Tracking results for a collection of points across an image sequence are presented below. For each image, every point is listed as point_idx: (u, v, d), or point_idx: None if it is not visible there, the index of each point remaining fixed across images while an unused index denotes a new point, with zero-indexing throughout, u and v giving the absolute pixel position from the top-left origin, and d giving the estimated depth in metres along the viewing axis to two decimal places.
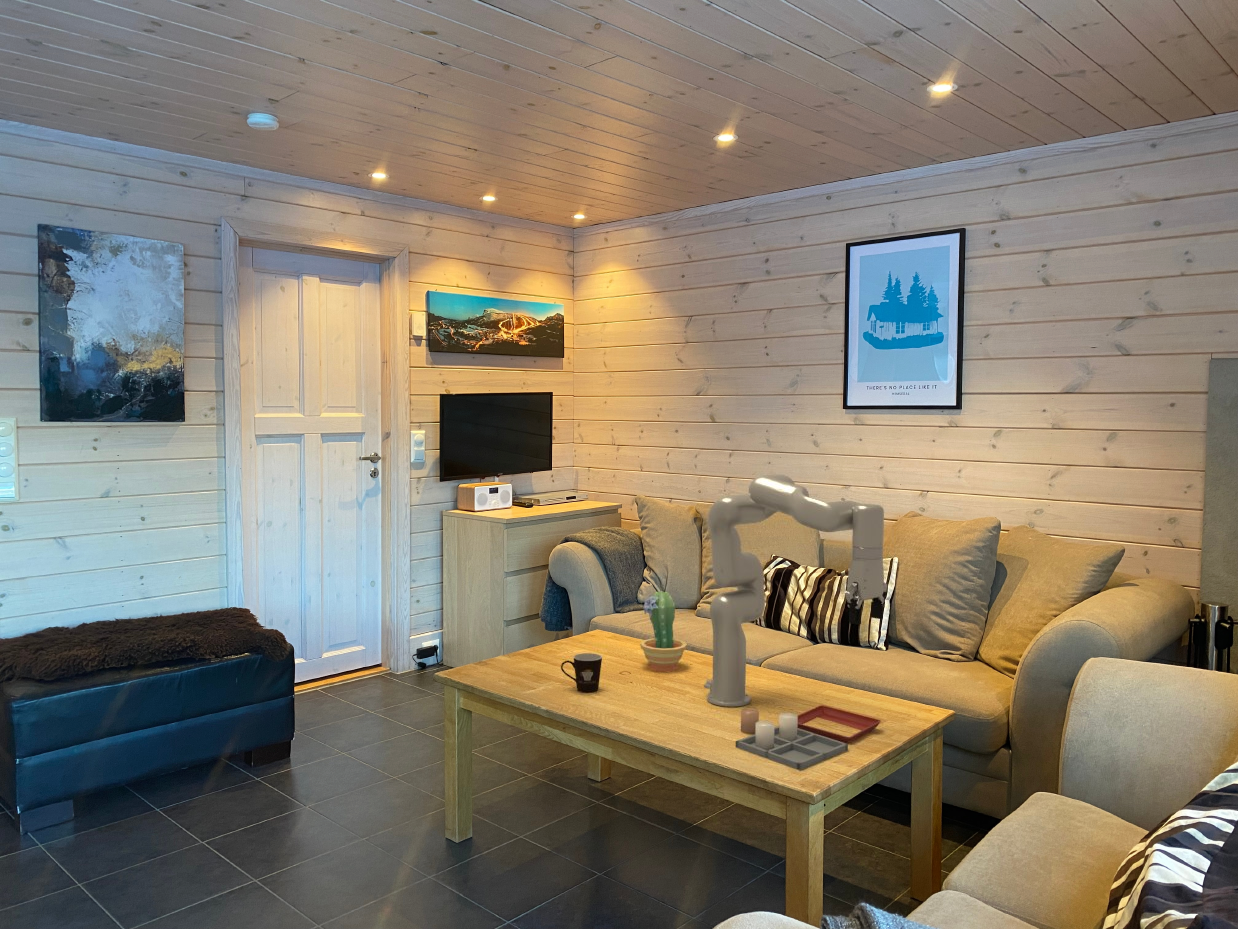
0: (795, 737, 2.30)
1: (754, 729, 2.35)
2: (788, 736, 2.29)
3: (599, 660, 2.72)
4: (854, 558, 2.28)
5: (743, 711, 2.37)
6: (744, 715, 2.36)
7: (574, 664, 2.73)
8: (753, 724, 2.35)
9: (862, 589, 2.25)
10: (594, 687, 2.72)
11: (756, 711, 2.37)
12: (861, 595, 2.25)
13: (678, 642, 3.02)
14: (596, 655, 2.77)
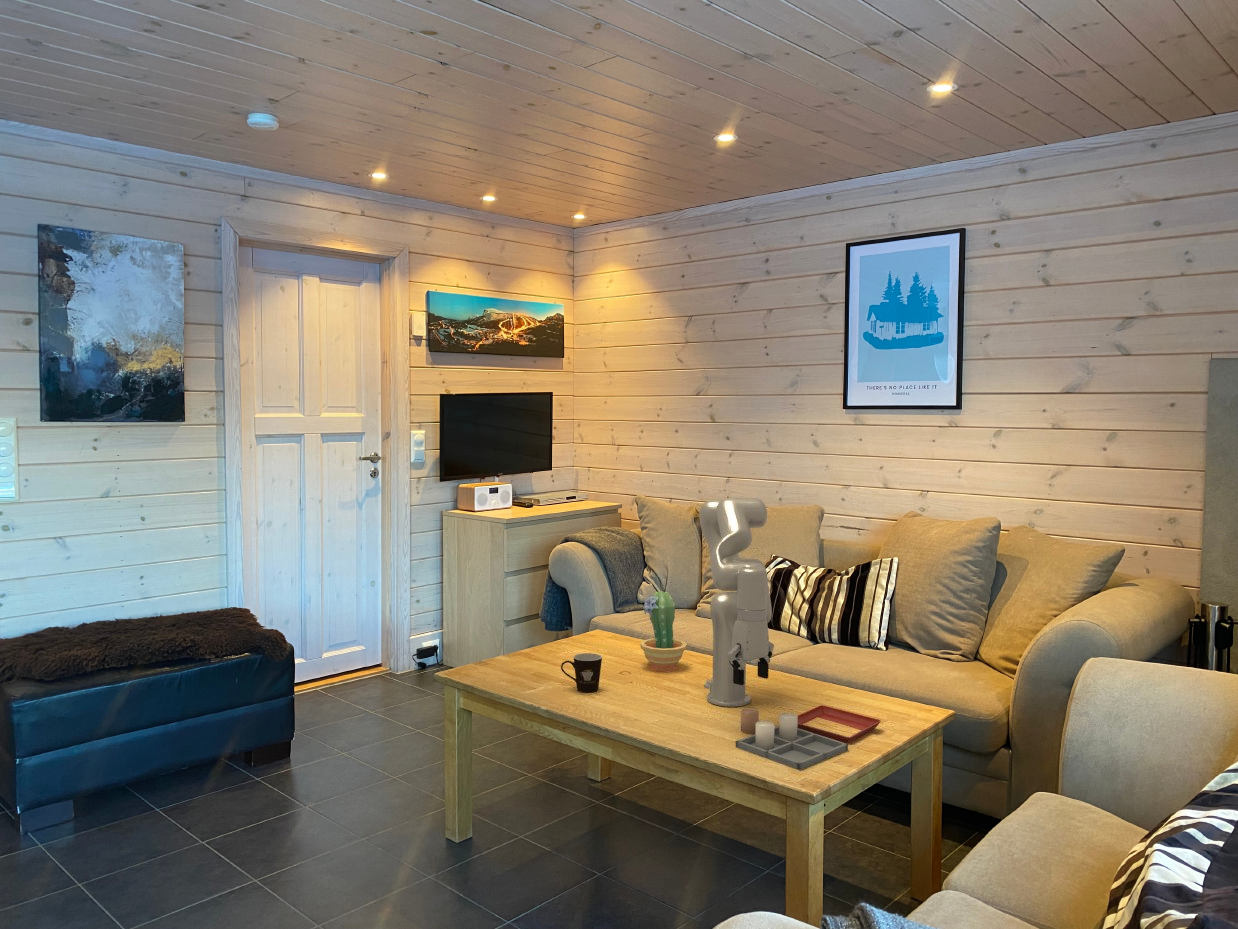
0: (795, 737, 2.30)
1: (754, 729, 2.35)
2: (788, 736, 2.29)
3: (599, 660, 2.72)
4: (738, 620, 2.35)
5: (743, 711, 2.37)
6: (744, 715, 2.36)
7: (574, 664, 2.73)
8: (753, 724, 2.35)
9: (744, 650, 2.31)
10: (594, 687, 2.72)
11: (756, 711, 2.37)
12: (743, 656, 2.32)
13: (678, 642, 3.02)
14: (596, 655, 2.77)
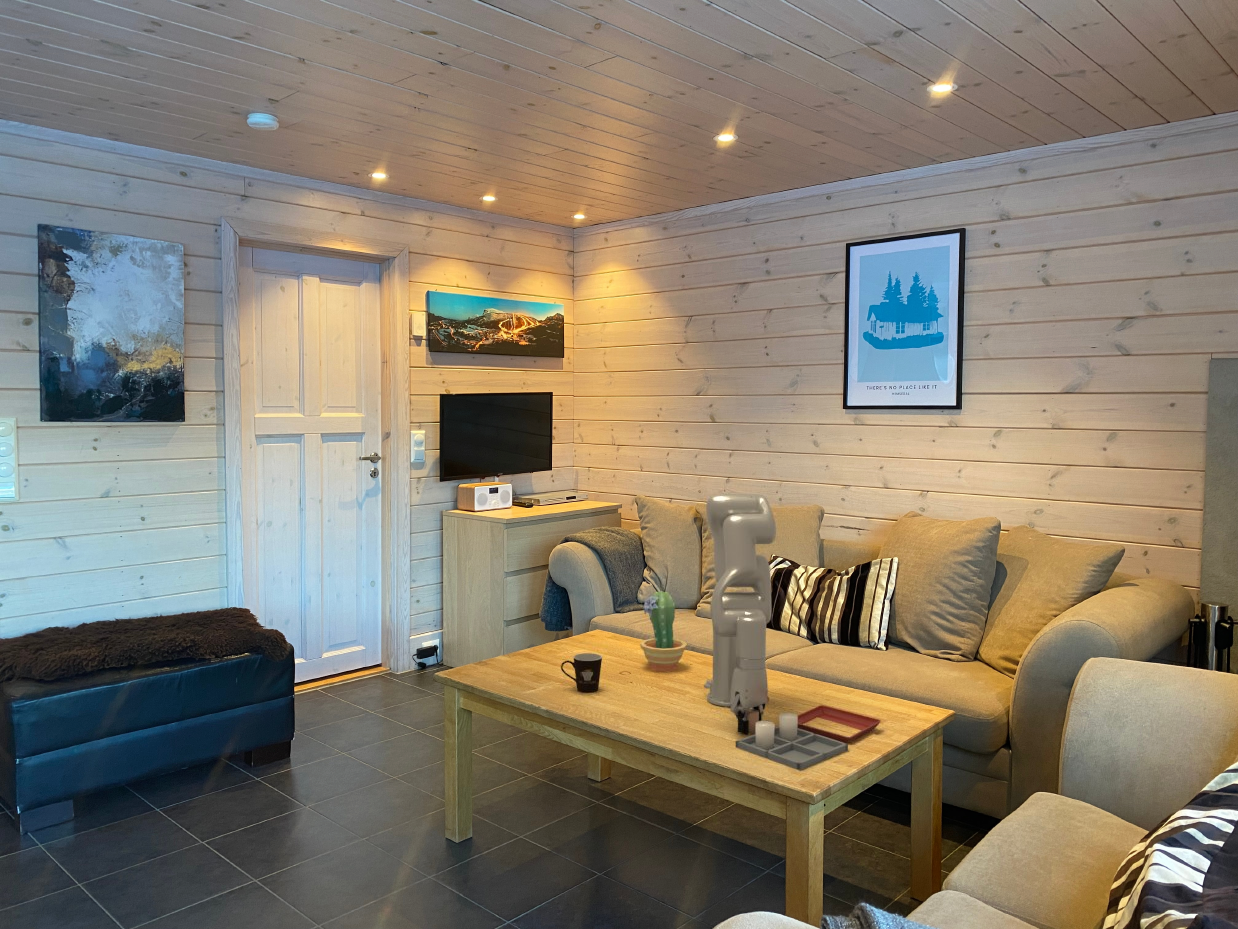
0: (795, 737, 2.30)
1: (754, 729, 2.35)
2: (788, 736, 2.29)
3: (599, 660, 2.72)
4: (737, 668, 2.35)
5: (743, 711, 2.37)
6: None
7: (574, 664, 2.73)
8: (753, 724, 2.35)
9: (743, 699, 2.32)
10: (594, 687, 2.72)
11: (756, 711, 2.37)
12: (742, 705, 2.33)
13: (678, 642, 3.02)
14: (596, 655, 2.77)
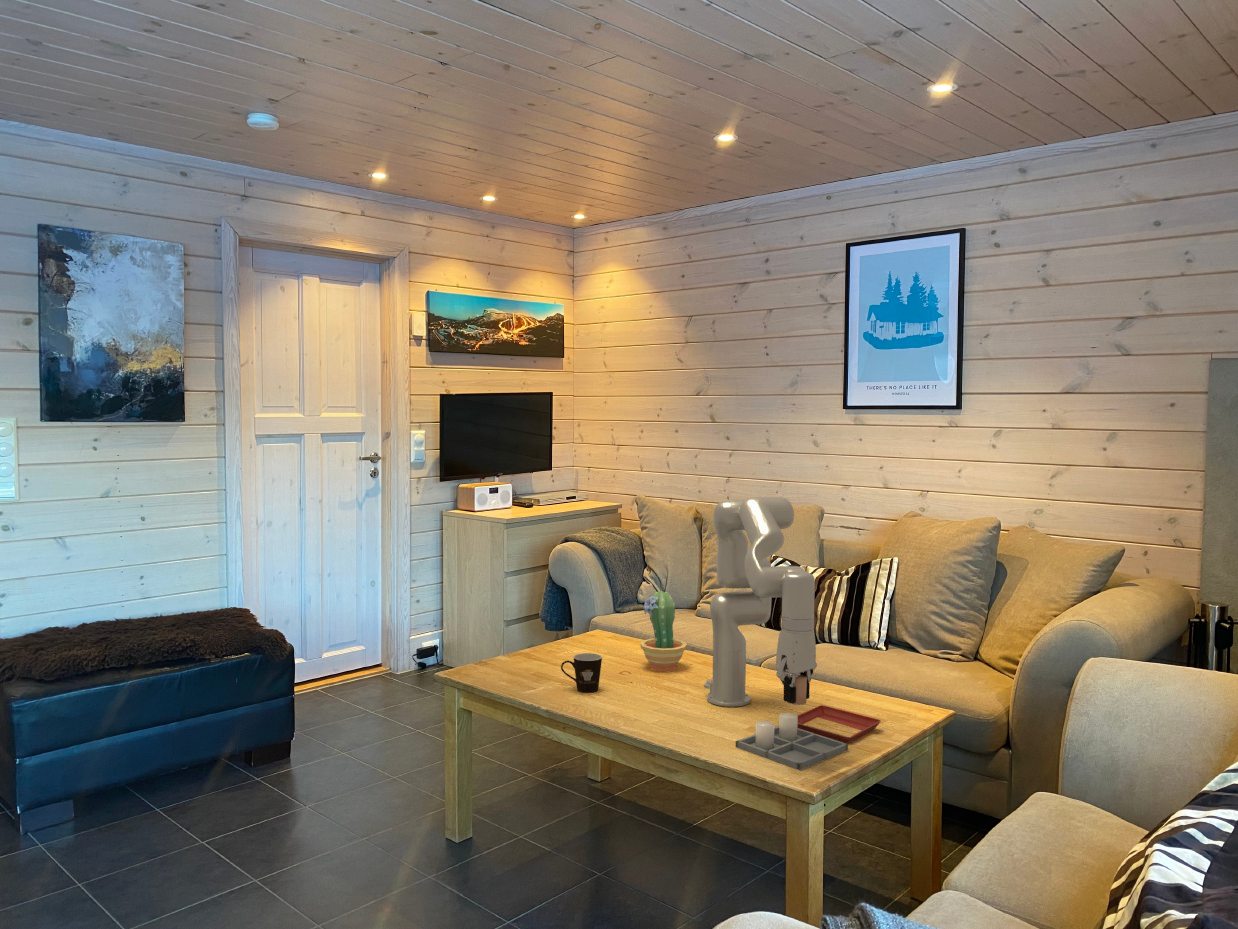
0: (795, 737, 2.30)
1: (802, 696, 2.16)
2: (788, 736, 2.29)
3: (599, 660, 2.72)
4: (783, 629, 2.16)
5: (790, 676, 2.18)
6: None
7: (574, 664, 2.73)
8: (801, 691, 2.15)
9: (791, 663, 2.13)
10: (594, 687, 2.72)
11: (804, 677, 2.17)
12: (789, 669, 2.13)
13: (678, 642, 3.02)
14: (596, 655, 2.77)
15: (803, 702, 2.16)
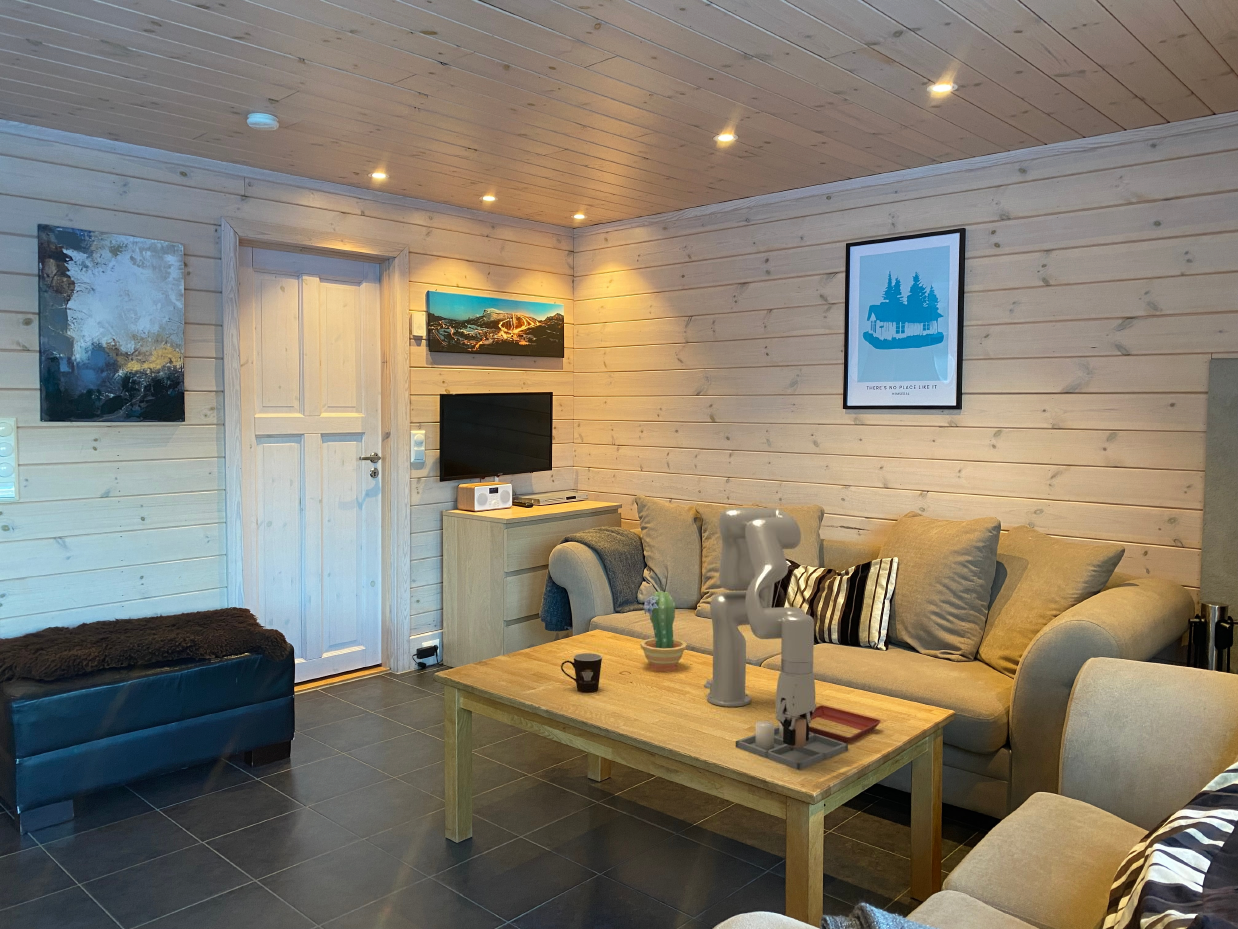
0: None
1: (802, 739, 2.16)
2: None
3: (599, 660, 2.72)
4: (783, 672, 2.16)
5: (789, 718, 2.18)
6: None
7: (574, 664, 2.73)
8: (800, 733, 2.16)
9: (790, 706, 2.13)
10: (594, 687, 2.72)
11: (803, 719, 2.18)
12: (789, 712, 2.13)
13: (678, 642, 3.02)
14: (596, 655, 2.77)
15: (803, 744, 2.16)
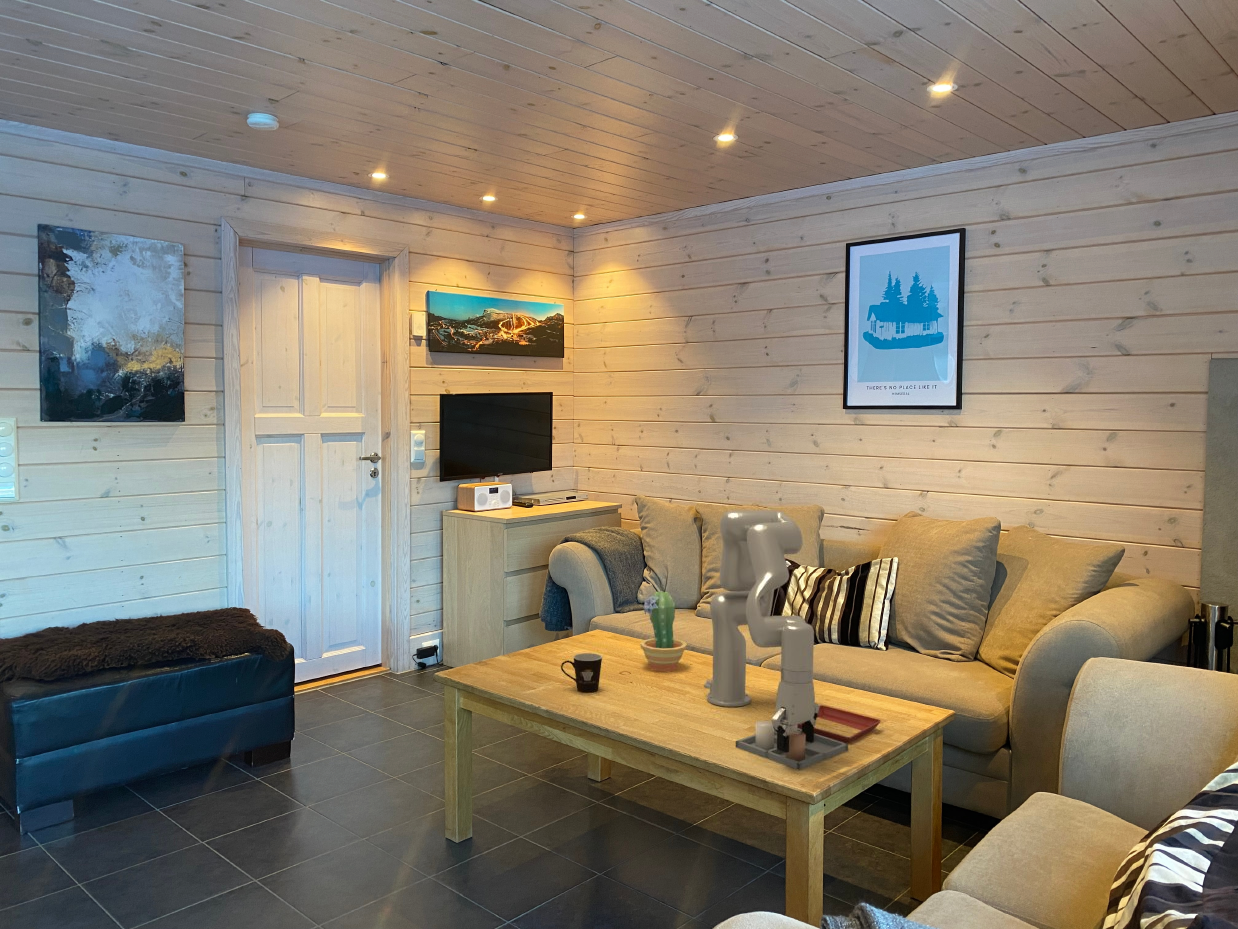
0: None
1: (801, 754, 2.16)
2: None
3: (599, 660, 2.72)
4: (782, 681, 2.16)
5: (789, 733, 2.18)
6: (790, 738, 2.17)
7: (574, 664, 2.73)
8: (799, 748, 2.16)
9: (790, 715, 2.13)
10: (594, 687, 2.72)
11: (802, 734, 2.18)
12: (788, 721, 2.13)
13: (678, 642, 3.02)
14: (596, 655, 2.77)
15: (802, 759, 2.17)
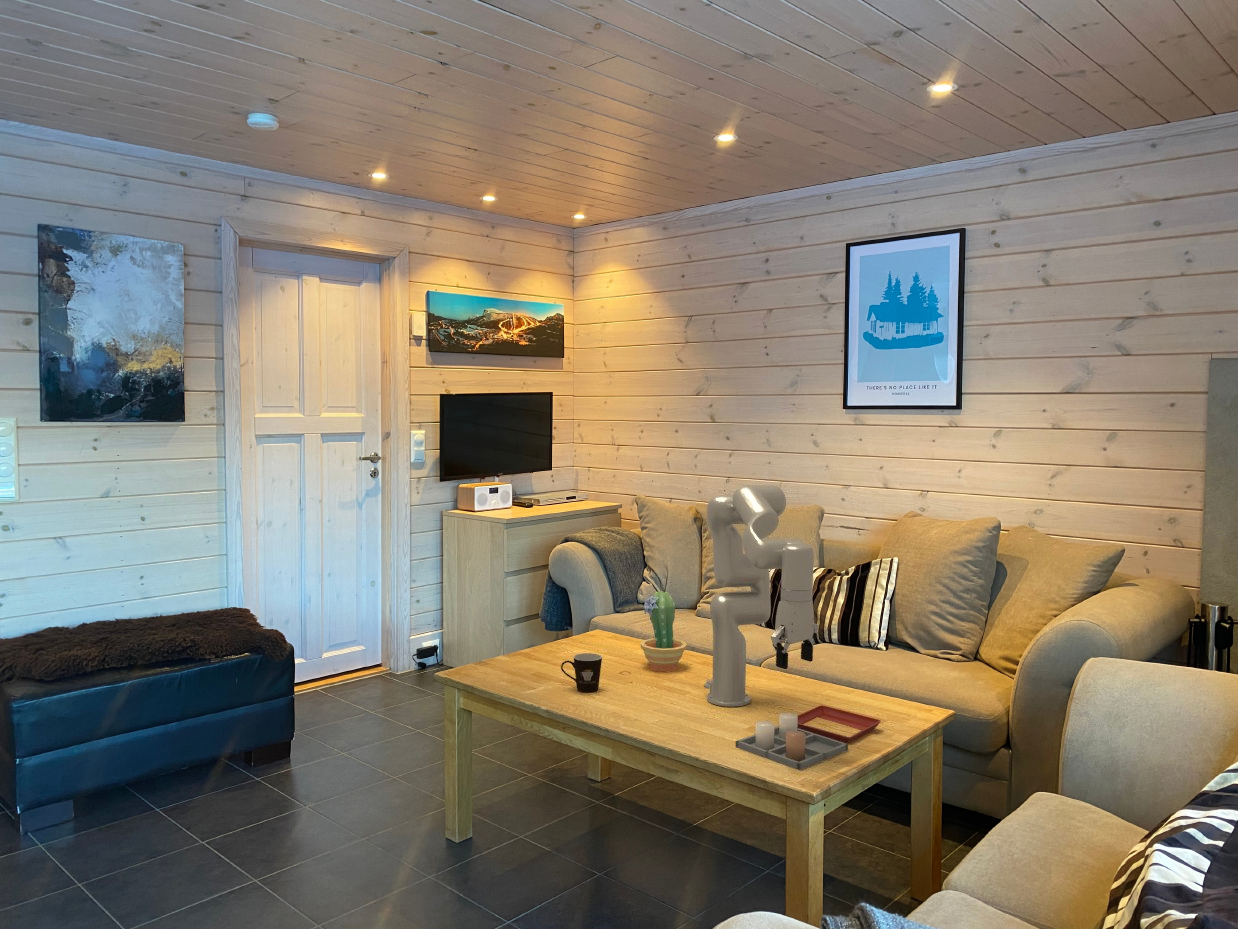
0: None
1: (801, 754, 2.16)
2: None
3: (599, 660, 2.72)
4: (782, 600, 2.21)
5: (789, 733, 2.18)
6: (790, 738, 2.17)
7: (574, 664, 2.73)
8: (799, 748, 2.16)
9: (789, 633, 2.18)
10: (594, 687, 2.72)
11: (802, 734, 2.18)
12: (787, 639, 2.18)
13: (678, 642, 3.02)
14: (596, 655, 2.77)
15: (802, 759, 2.17)
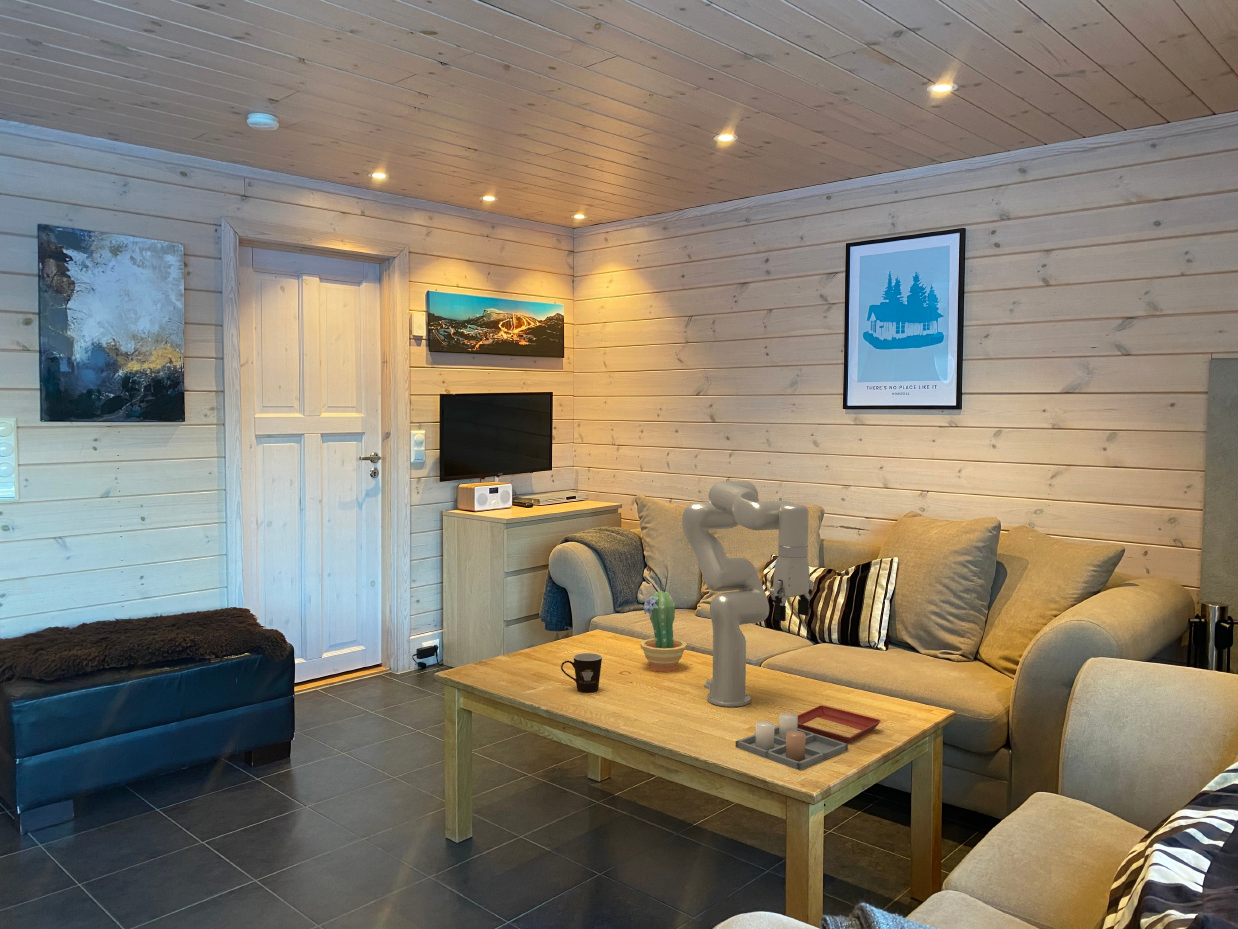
0: None
1: (801, 754, 2.16)
2: None
3: (599, 660, 2.72)
4: (780, 557, 2.36)
5: (789, 733, 2.18)
6: (790, 738, 2.17)
7: (574, 664, 2.73)
8: (799, 748, 2.16)
9: (786, 587, 2.32)
10: (594, 687, 2.72)
11: (802, 734, 2.18)
12: (785, 592, 2.33)
13: (678, 642, 3.02)
14: (596, 655, 2.77)
15: (802, 759, 2.17)
